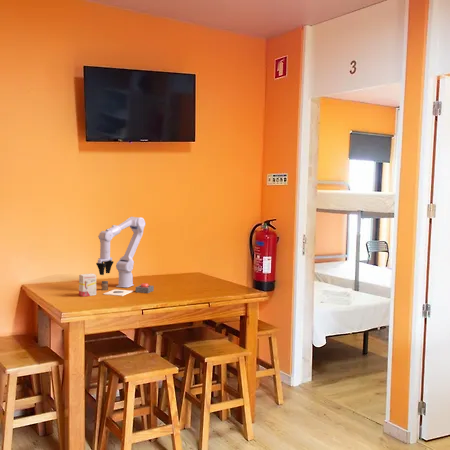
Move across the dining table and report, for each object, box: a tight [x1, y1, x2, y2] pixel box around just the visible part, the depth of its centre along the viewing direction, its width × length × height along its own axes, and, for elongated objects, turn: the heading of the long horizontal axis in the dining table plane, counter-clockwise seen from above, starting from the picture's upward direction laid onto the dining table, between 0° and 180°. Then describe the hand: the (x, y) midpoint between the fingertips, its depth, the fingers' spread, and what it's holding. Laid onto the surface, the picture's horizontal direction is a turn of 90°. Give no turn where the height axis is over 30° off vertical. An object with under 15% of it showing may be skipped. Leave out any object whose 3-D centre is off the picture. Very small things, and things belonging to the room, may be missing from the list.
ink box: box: [78, 273, 97, 298], centre depth 306 cm, size 9×5×12 cm, turn 131°
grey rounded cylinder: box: [101, 280, 109, 291], centre depth 323 cm, size 4×4×5 cm
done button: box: [140, 282, 149, 287], centre depth 320 cm, size 4×4×2 cm
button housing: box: [135, 284, 154, 294], centre depth 320 cm, size 8×8×3 cm
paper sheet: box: [102, 288, 134, 297], centre depth 314 cm, size 14×12×1 cm
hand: (104, 274), depth 322 cm, fingers open, 7 cm apart
